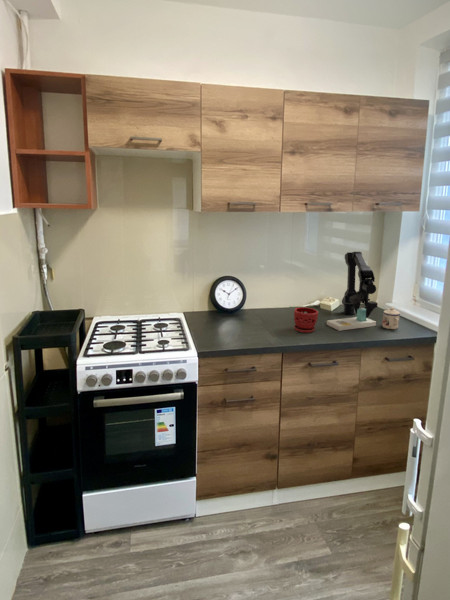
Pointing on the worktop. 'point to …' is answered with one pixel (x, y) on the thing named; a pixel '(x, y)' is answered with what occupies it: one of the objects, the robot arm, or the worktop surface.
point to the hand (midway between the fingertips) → (361, 315)
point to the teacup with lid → (390, 319)
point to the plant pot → (305, 319)
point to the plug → (361, 314)
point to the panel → (350, 323)
